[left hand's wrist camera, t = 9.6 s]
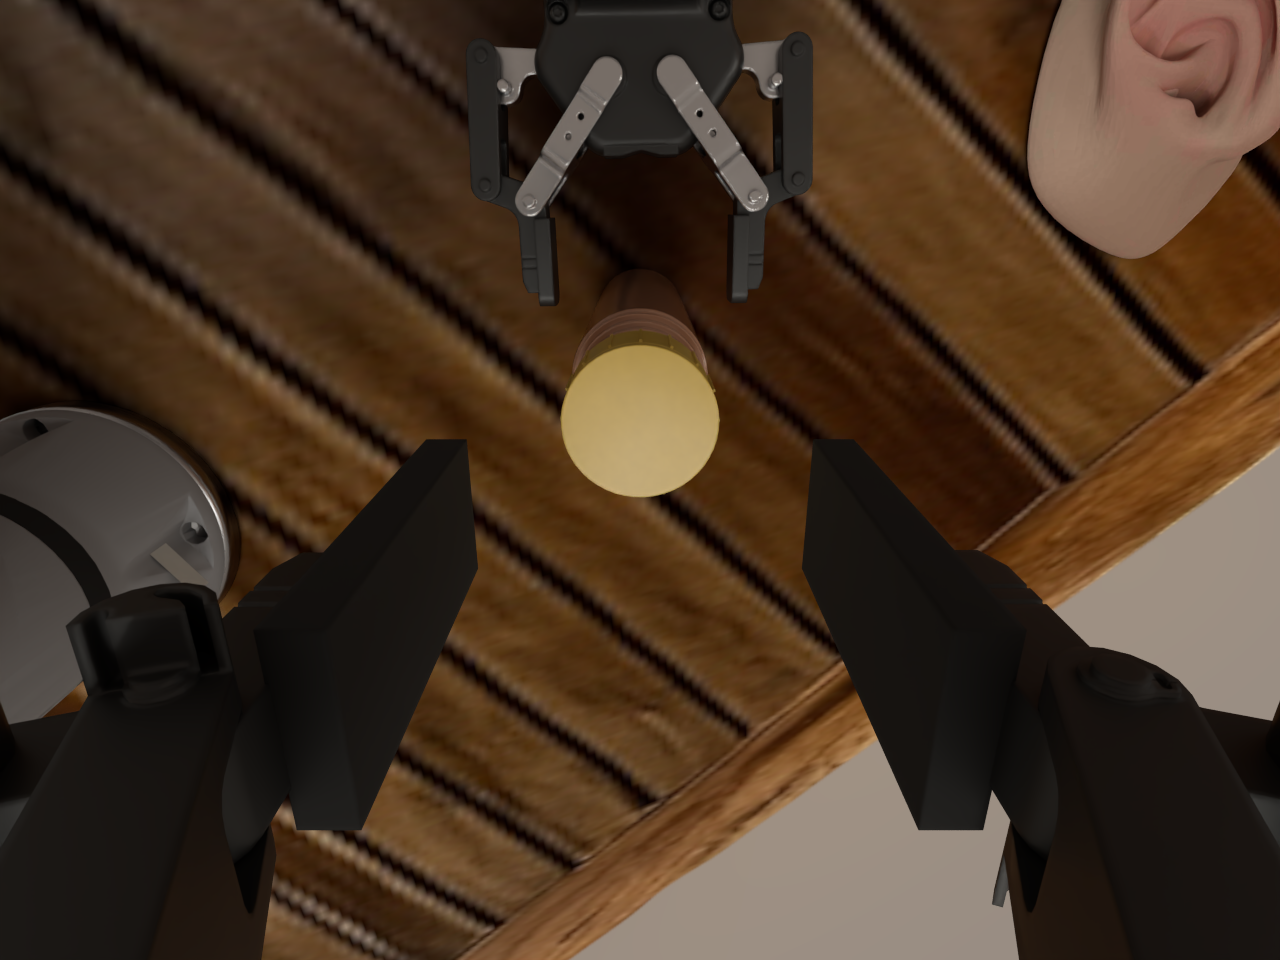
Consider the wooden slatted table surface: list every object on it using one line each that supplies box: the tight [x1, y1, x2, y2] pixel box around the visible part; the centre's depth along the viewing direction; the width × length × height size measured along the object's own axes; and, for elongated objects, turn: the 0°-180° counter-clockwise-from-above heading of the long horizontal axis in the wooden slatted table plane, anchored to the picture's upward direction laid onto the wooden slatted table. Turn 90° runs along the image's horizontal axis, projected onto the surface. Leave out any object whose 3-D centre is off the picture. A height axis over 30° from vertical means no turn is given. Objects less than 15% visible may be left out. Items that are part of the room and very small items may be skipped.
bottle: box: [572, 269, 708, 375], centre depth 29 cm, size 5×5×21 cm
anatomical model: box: [1027, 0, 1280, 259], centre depth 34 cm, size 13×4×12 cm
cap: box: [560, 329, 720, 497], centre depth 20 cm, size 4×4×2 cm
